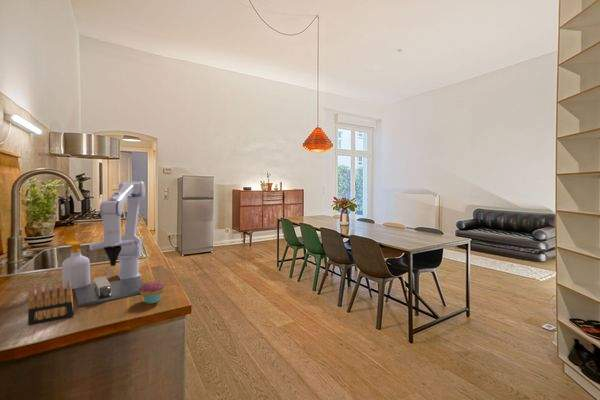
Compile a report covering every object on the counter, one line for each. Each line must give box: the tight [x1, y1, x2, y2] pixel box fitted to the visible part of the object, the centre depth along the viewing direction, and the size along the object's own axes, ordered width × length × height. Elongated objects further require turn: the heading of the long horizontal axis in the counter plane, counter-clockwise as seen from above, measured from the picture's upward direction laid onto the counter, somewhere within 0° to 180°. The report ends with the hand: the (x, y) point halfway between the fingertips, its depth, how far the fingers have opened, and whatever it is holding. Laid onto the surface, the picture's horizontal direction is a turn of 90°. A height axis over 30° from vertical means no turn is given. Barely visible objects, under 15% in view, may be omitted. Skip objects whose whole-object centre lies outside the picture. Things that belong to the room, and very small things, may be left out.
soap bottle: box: [61, 226, 91, 290], centre depth 117 cm, size 9×9×25 cm
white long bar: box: [93, 275, 112, 298], centre depth 110 cm, size 18×4×3 cm, turn 41°
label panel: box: [74, 277, 145, 308], centre depth 112 cm, size 18×22×2 cm
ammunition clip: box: [27, 280, 75, 327], centre depth 89 cm, size 11×2×12 cm, turn 125°
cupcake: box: [139, 269, 166, 304], centre depth 104 cm, size 9×8×12 cm
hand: (113, 265), depth 112 cm, fingers closed
